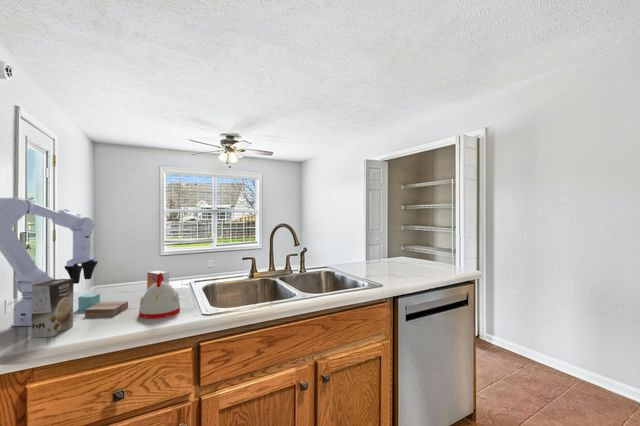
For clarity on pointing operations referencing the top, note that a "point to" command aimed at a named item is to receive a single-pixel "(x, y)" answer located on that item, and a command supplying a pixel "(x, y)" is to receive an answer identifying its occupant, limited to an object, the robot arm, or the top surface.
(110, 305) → the walnut block
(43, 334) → the coffee box
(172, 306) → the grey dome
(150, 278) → the small box
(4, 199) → the robot arm
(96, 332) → the top surface
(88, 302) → the teal cube
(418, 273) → the top surface
